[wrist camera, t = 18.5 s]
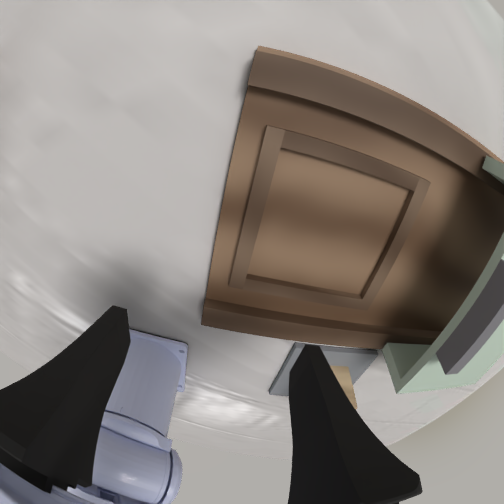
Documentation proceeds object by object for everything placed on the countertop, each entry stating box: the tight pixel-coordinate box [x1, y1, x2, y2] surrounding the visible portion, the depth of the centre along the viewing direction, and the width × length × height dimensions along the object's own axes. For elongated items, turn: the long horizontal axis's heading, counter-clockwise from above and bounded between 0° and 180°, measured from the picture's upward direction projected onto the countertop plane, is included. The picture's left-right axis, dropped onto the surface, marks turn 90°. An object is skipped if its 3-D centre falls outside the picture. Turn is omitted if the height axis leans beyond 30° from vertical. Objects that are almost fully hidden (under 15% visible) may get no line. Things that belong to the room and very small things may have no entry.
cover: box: [382, 156, 504, 394], centre depth 15 cm, size 18×12×7 cm, turn 167°
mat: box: [269, 343, 378, 396], centre depth 27 cm, size 9×9×1 cm
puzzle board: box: [201, 46, 504, 349], centre depth 18 cm, size 20×30×2 cm, turn 77°
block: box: [330, 366, 357, 410], centre depth 24 cm, size 4×4×5 cm
